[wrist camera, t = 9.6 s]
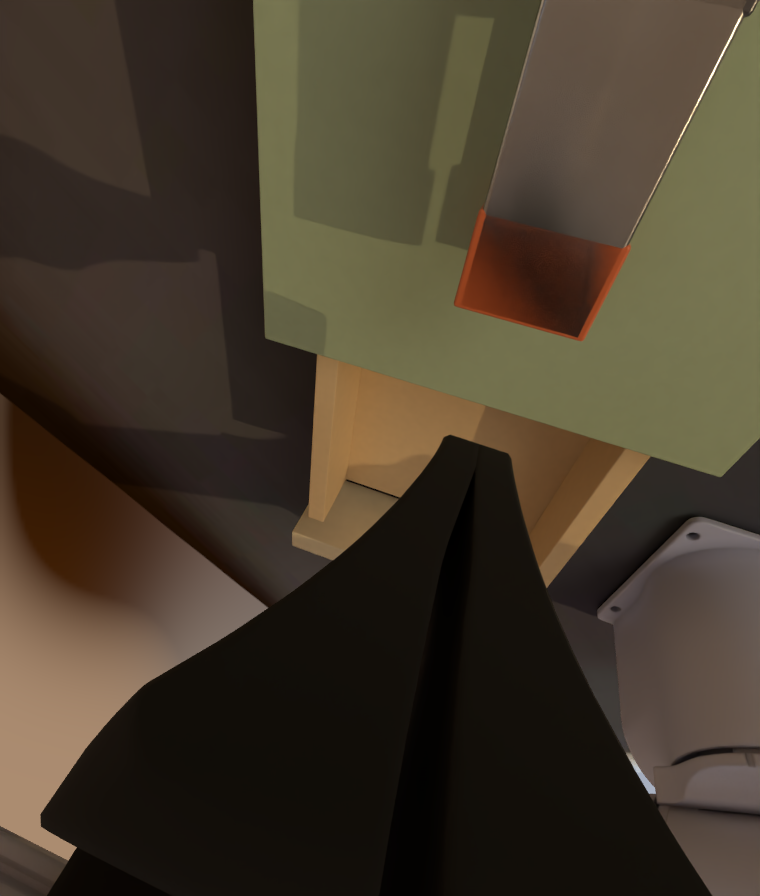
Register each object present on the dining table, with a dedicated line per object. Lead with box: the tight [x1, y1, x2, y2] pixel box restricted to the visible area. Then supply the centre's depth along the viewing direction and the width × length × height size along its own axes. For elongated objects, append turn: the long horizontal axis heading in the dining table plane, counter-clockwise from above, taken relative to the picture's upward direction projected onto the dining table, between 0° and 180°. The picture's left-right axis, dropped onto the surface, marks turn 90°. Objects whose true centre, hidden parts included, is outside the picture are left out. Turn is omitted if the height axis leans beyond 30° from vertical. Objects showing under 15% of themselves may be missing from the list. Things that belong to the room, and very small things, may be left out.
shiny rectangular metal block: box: [454, 0, 759, 341], centre depth 6 cm, size 8×2×3 cm, turn 172°
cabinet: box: [253, 0, 760, 477], centre depth 10 cm, size 16×14×6 cm
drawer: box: [292, 354, 650, 588], centre depth 20 cm, size 19×12×4 cm, turn 172°
